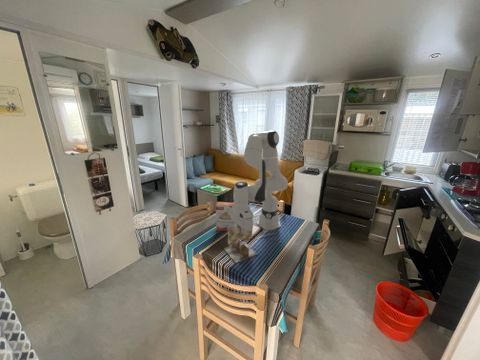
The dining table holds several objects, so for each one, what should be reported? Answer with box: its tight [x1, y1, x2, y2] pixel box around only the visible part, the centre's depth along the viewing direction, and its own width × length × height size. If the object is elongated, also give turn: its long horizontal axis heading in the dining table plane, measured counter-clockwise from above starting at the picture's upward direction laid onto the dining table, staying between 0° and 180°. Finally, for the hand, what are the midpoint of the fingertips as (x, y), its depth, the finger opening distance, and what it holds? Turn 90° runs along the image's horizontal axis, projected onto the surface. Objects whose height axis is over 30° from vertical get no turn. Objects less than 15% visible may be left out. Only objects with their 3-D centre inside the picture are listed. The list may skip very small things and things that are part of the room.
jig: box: [223, 238, 258, 264], centre depth 123 cm, size 16×15×7 cm
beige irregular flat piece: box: [227, 225, 253, 247], centre depth 120 cm, size 16×2×10 cm, turn 121°
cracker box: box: [215, 201, 237, 232], centre depth 146 cm, size 14×6×21 cm, turn 85°
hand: (240, 230), depth 120 cm, fingers closed on beige irregular flat piece, 2 cm apart
